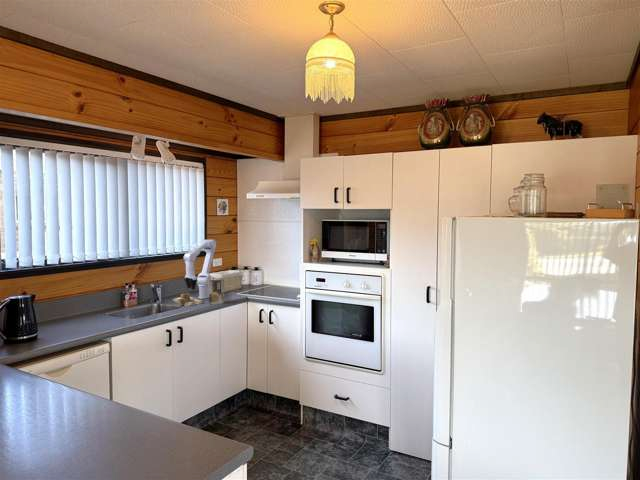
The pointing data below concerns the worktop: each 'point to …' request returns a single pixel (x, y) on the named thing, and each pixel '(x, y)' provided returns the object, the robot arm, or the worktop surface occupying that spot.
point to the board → (189, 301)
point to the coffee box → (216, 291)
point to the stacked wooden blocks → (184, 299)
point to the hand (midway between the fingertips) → (191, 288)
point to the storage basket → (229, 279)
